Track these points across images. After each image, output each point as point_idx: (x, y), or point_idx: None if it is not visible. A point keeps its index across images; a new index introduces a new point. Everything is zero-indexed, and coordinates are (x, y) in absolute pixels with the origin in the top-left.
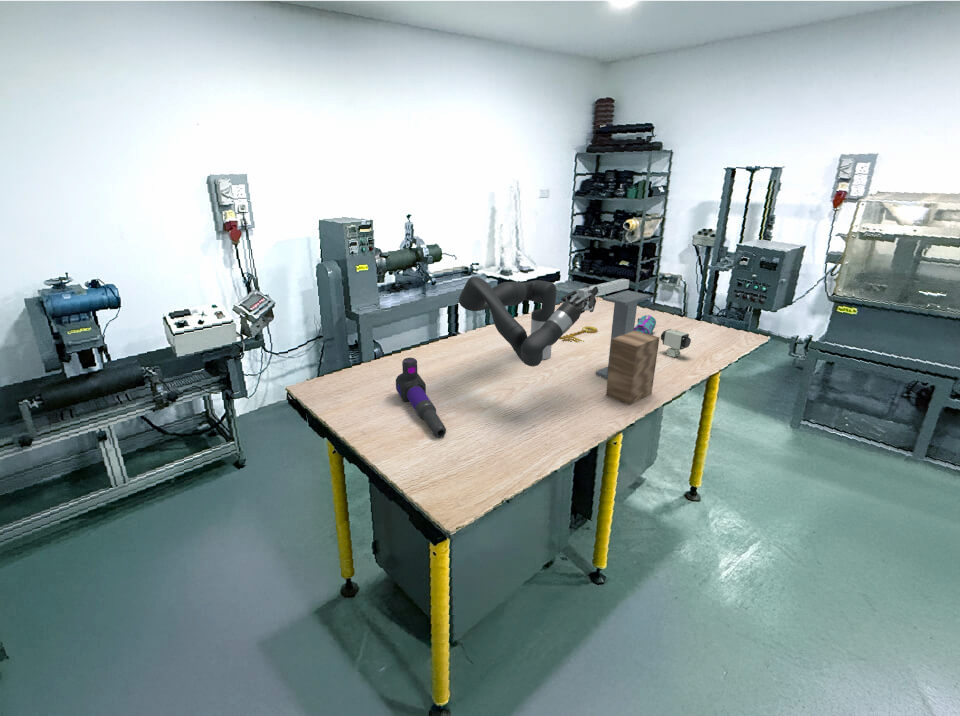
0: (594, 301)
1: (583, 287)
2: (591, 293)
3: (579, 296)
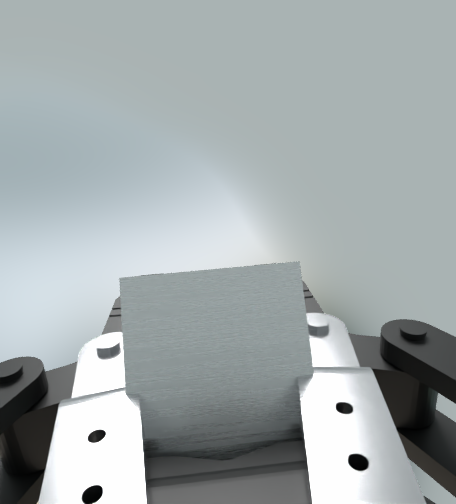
0: (432, 418)
1: (115, 309)
2: (328, 315)
3: (198, 411)
